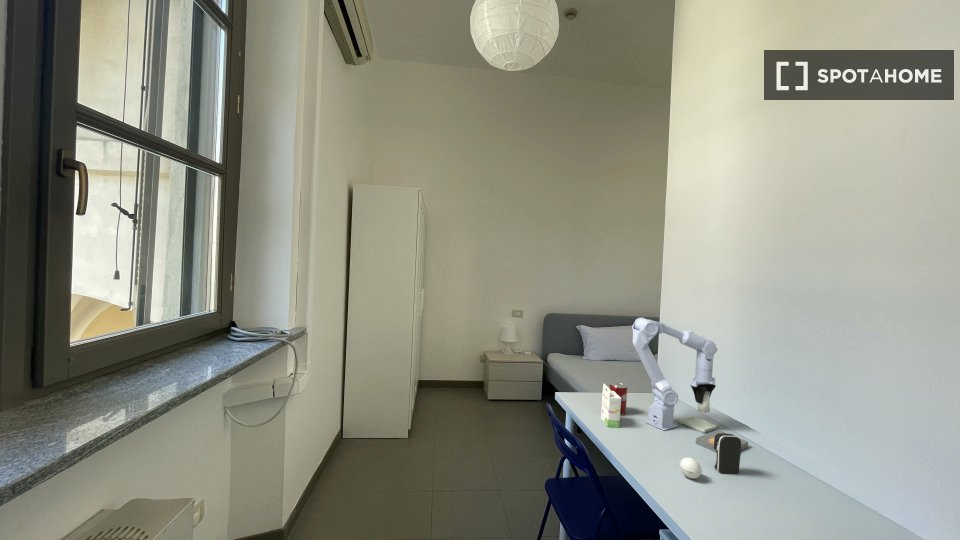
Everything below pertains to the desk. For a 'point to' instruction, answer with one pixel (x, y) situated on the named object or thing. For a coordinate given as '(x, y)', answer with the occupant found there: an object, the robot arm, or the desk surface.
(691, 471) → the white egg
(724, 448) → the battery charger
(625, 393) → the soda can
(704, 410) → the grey cylinder
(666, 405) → the robot arm
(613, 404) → the ink box
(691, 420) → the tray
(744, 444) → the housing
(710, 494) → the desk surface
